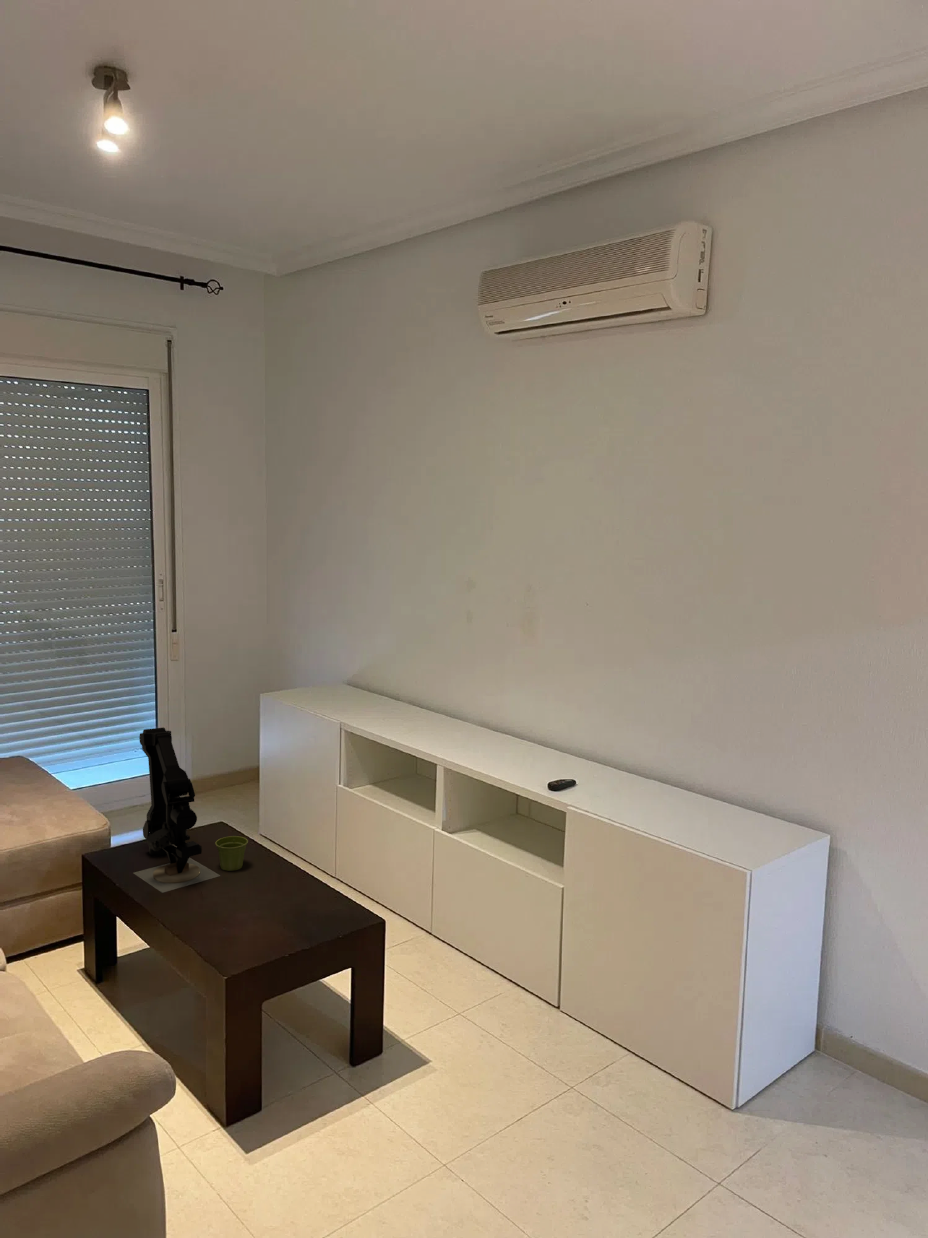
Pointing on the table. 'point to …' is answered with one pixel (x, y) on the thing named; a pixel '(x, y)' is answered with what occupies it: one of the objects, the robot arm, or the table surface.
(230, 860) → the plant pot
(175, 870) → the lid
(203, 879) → the mat
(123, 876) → the table surface
